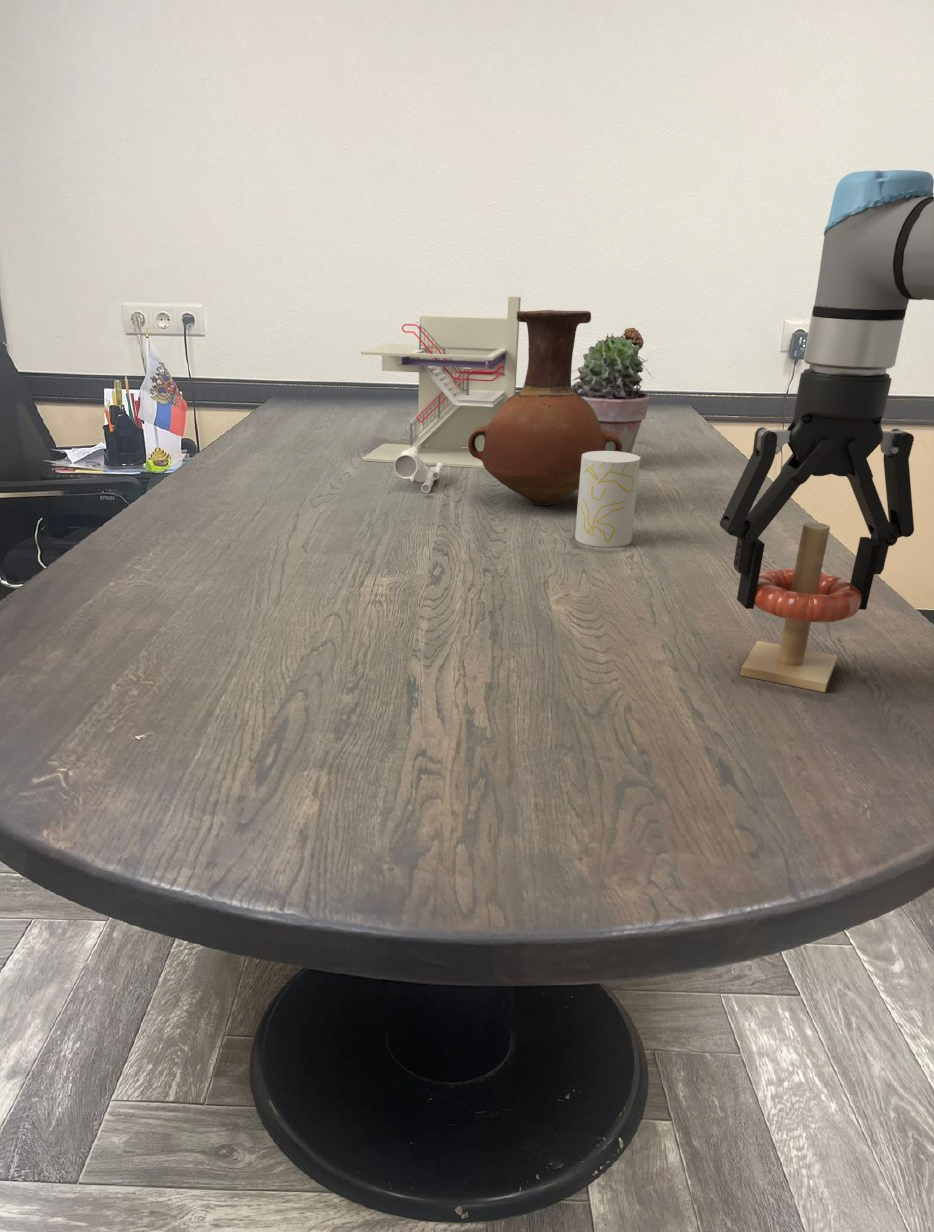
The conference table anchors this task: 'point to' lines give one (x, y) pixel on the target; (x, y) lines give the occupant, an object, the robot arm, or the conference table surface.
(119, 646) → the conference table surface
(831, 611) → the ring
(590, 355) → the potted plant
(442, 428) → the staircase
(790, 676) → the post
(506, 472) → the vase
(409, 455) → the white pipe fitting
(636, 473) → the white patterned cylinder
